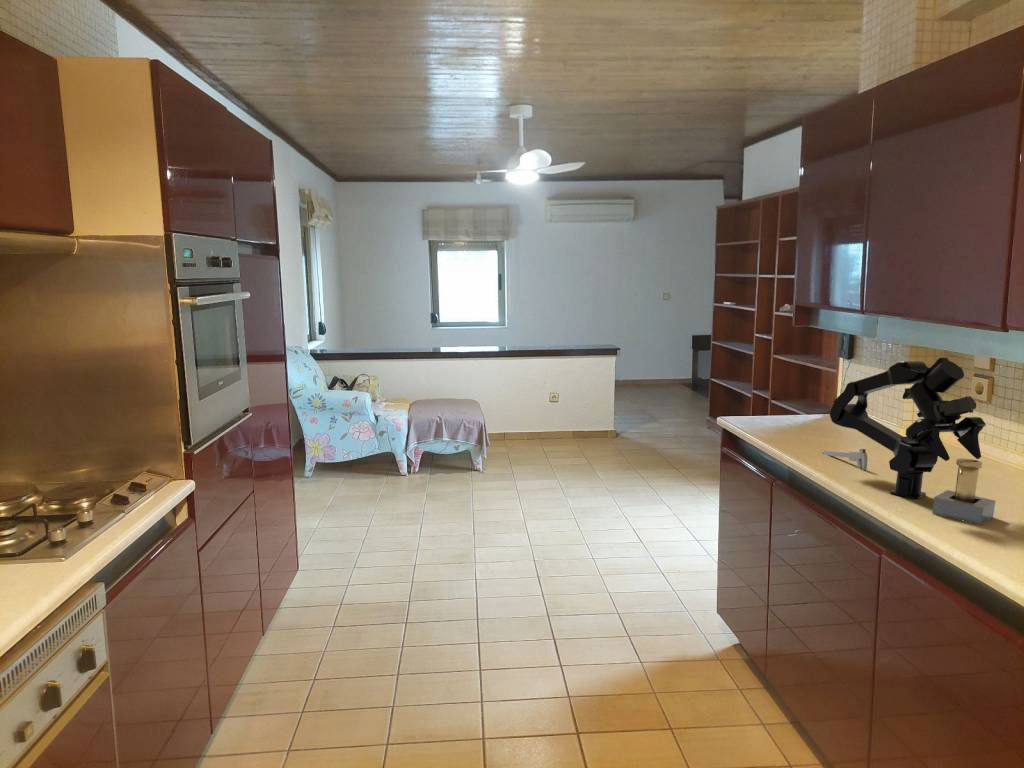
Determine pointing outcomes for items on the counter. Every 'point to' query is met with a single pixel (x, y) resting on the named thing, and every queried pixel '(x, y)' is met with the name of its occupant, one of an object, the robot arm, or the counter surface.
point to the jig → (963, 508)
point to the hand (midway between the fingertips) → (963, 459)
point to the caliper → (852, 456)
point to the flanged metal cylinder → (967, 479)
